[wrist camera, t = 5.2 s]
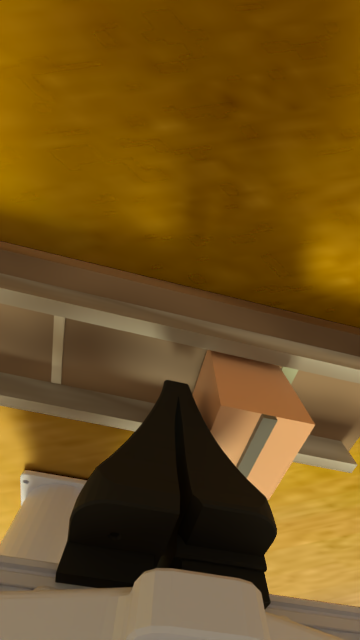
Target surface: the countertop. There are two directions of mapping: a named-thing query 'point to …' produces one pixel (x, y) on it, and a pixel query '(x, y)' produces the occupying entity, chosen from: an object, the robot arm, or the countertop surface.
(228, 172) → the countertop surface
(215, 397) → the fader knob
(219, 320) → the fader board
